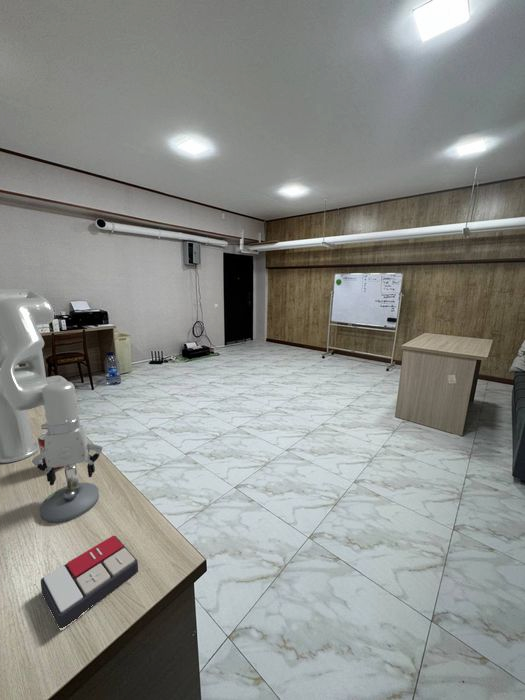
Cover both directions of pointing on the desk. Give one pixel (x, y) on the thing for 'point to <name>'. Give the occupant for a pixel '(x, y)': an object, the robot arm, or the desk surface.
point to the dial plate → (69, 503)
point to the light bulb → (71, 481)
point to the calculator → (87, 579)
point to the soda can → (42, 448)
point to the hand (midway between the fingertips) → (72, 478)
